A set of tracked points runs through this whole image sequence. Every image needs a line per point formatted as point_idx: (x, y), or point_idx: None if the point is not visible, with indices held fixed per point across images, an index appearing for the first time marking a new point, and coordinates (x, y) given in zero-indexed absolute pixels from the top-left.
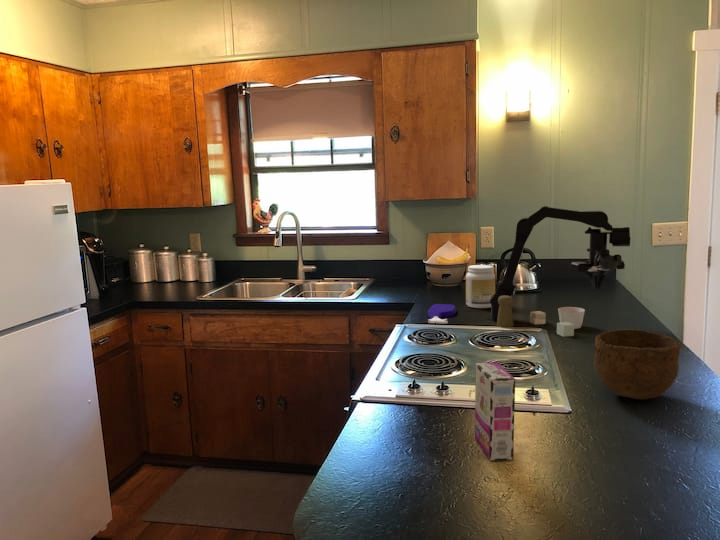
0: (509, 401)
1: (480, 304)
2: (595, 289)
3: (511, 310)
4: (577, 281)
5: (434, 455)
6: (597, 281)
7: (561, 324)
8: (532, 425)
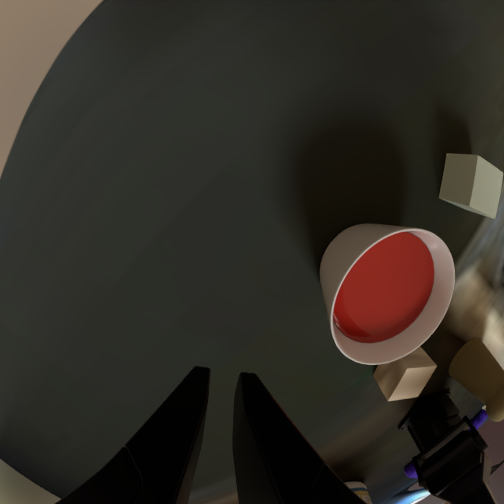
0: None
1: (360, 486)
2: (255, 374)
3: (487, 376)
4: (41, 484)
5: None
6: (194, 471)
7: (500, 187)
8: None
